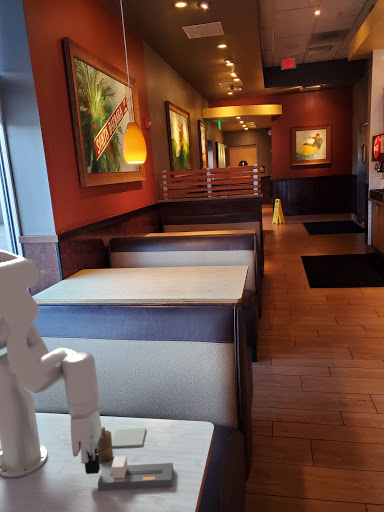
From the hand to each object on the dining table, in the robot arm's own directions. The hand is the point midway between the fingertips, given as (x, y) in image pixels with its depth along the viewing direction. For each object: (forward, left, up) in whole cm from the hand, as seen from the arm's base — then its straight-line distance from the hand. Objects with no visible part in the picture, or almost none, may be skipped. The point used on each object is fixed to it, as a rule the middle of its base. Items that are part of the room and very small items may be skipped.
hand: (93, 471), depth 101 cm
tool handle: (+1, +9, -3) cm, 10 cm away
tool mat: (+6, +18, -3) cm, 19 cm away
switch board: (+11, 0, -3) cm, 11 cm away
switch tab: (+7, 0, -1) cm, 7 cm away
